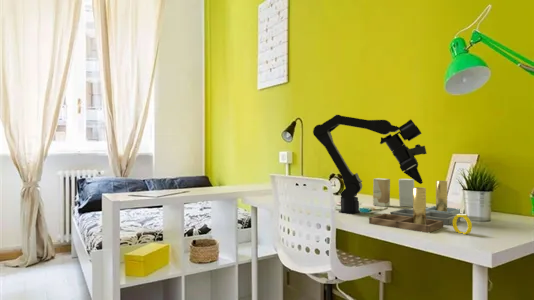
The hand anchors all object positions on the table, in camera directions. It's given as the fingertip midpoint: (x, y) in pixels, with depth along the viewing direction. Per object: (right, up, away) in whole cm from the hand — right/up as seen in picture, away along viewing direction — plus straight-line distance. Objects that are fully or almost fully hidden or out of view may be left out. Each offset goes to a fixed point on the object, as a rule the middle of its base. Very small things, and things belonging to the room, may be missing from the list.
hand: (421, 182), depth 144 cm
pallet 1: (-12, -13, -16) cm, 24 cm away
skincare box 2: (+3, -13, +24) cm, 27 cm away
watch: (+1, -13, -29) cm, 32 cm away
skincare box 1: (-7, -13, +26) cm, 30 cm away
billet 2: (+9, -13, +3) cm, 16 cm away
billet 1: (-9, -13, -20) cm, 25 cm away
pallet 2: (-1, -13, -6) cm, 14 cm away
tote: (+9, -13, +3) cm, 16 cm away
